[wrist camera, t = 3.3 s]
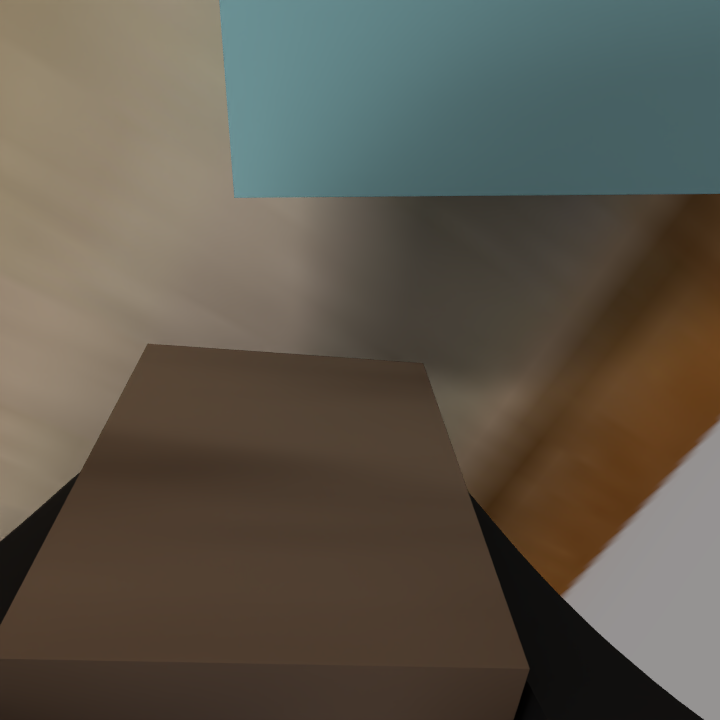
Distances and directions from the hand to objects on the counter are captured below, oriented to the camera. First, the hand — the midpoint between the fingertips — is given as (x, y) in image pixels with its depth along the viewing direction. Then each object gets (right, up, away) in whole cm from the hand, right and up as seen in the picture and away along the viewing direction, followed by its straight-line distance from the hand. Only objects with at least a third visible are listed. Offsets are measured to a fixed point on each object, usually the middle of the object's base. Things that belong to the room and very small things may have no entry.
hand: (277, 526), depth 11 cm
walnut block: (0, +1, +1) cm, 2 cm away
